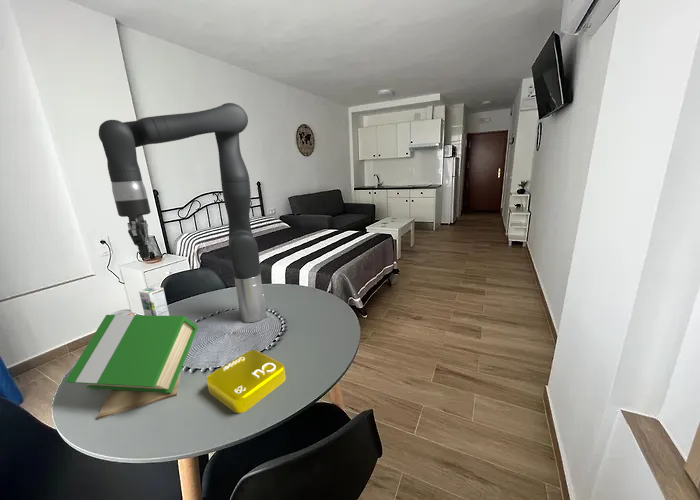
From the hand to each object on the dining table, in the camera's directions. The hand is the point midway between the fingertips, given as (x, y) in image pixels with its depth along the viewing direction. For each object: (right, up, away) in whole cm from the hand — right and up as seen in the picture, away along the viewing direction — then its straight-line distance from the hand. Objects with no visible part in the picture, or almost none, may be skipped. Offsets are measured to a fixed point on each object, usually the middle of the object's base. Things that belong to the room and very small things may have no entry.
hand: (145, 257), depth 86 cm
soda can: (-13, -30, +11) cm, 34 cm away
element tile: (+34, -34, -9) cm, 49 cm away
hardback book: (+16, -25, -10) cm, 31 cm away
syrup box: (-12, -26, +24) cm, 38 cm away
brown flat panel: (+6, -34, -9) cm, 36 cm away
